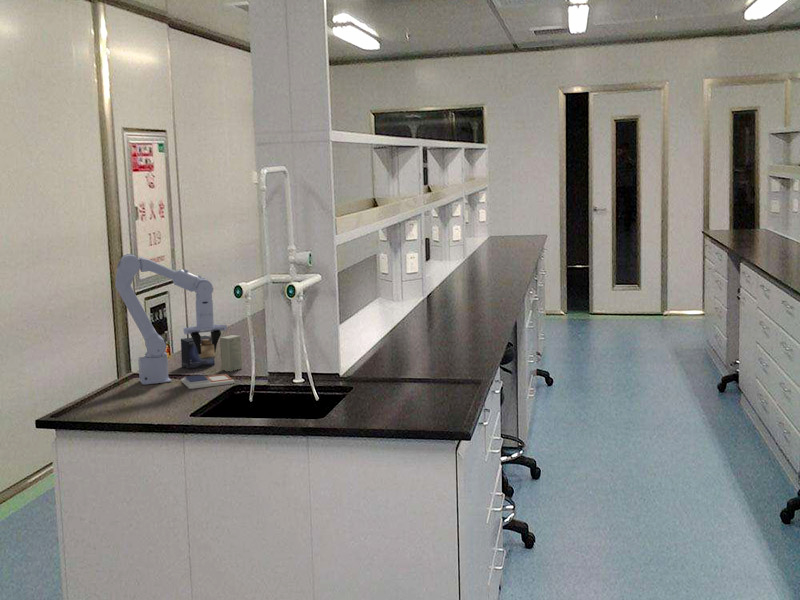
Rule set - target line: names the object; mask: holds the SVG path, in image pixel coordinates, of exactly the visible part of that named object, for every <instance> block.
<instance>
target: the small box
mask: <svg viewBox="0 0 800 600" xmlns="http://www.w3.org/2000/svg"><path fill="white" fill-rule="evenodd" d="M200 336H201V339H200V344H201V340H203V339H211V336H208V335H200ZM211 343H212V339H211ZM180 351H181V352H180V353H181V354H180V355H181V367H182V368H184V369H187V370H188V369H189V370H193V369H198V368H204V366H205V367H211V365H212V366H215V358H211V359H201V358H199V354H198V352H197V348H196V345H195V343H194V340H193V338H192V337H185V338H180Z"/></svg>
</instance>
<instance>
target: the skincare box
mask: <svg viewBox="0 0 800 600" xmlns="http://www.w3.org/2000/svg"><path fill="white" fill-rule="evenodd" d="M219 343H220V345H219V346H220V360H221V361H220V362H221V364H220V366H221V371H223V370H225V371H224V372H228V371H230V372H234V371H237V369H238V370H241V369H243V362H242V361H243V360H242V340H241V335H235V334H231V335H230V334H229V335H225V336H220V337H219ZM233 370H234V371H233Z"/></svg>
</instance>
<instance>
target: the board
mask: <svg viewBox="0 0 800 600" xmlns="http://www.w3.org/2000/svg"><path fill="white" fill-rule="evenodd" d="M181 383H183V385H185V386H186V387H187V388H188V389H189V390H191V389H193V390H194V389H199V388H200V389H201V388H209V387H215V386H217V387H218V386H225V385H232V384H233V383H234V384H235V383H236V382H235V380H234V379H233V378H232V377H231V376H229V375H228V374H227V373H221V374H213V375H212V374H211V375H203V374H200V375H199V374H198V375H190V376H185V377H183V378H181Z"/></svg>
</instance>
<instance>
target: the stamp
mask: <svg viewBox="0 0 800 600" xmlns="http://www.w3.org/2000/svg"><path fill="white" fill-rule="evenodd" d="M200 346H201V354H199V358H201V359H211V358H214V359H215V358H216V354H215V353H216V352H214V345H213V344H212V343H211V339H203V340H201V344H200Z"/></svg>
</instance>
